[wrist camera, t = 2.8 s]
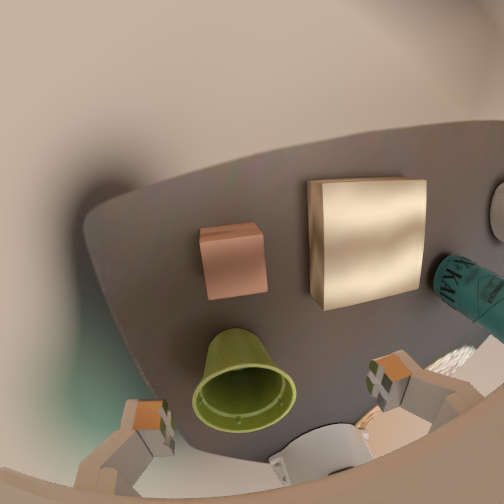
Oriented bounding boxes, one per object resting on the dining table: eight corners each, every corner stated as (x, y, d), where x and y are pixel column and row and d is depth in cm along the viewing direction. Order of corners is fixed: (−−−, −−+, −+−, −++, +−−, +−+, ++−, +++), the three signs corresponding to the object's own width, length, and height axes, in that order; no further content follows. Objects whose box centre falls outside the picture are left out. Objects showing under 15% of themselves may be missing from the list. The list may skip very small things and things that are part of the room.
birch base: (399, 275, 32) (418, 288, 28) (310, 293, 31) (323, 311, 27) (403, 176, 28) (426, 180, 24) (306, 180, 27) (322, 183, 23)
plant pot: (183, 322, 29) (178, 376, 21) (270, 305, 30) (292, 354, 22) (204, 384, 32) (207, 438, 24) (279, 369, 33) (298, 420, 25)
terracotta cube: (257, 270, 29) (267, 291, 24) (207, 277, 28) (208, 300, 24) (252, 221, 27) (263, 234, 23) (200, 228, 27) (199, 242, 22)
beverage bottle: (460, 263, 34) (563, 321, 15) (437, 300, 35) (534, 374, 16) (442, 240, 32) (562, 300, 13) (417, 282, 33) (529, 363, 14)
